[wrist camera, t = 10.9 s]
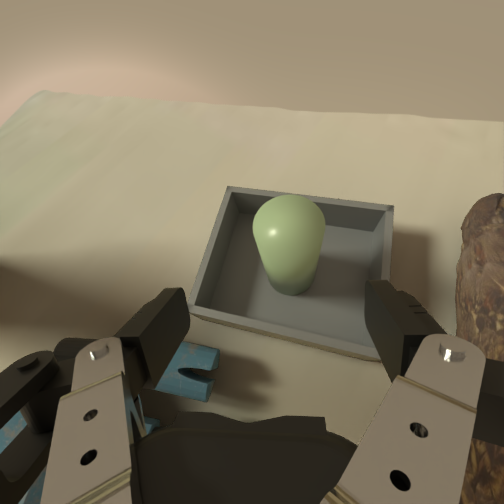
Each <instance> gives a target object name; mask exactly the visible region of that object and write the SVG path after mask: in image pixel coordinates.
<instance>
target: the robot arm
mask: <svg viewBox="0 0 504 504" xmlns="http://www.w3.org/2000/svg"><path fill="white" fill-rule="evenodd" d="M364 318H365V324H366V328H367V330H368V332H369V334H370V337H371V339H372V341H373V343H374V345H375V347H376V350H377V352H378V354H379V356H380V358H381V360H382V363H383V365H384V367H385V369H386V371H387V373H388V376H389V378H390V380H391V382H392V385H391V387H390V389H389V390H388V392H387V394H386V396H385V398H384V400H383V401H382V403H381V405H380V407H379V409H378V411H377V412H376V414H375V416H374V418H373V420H372V422H371V423H370V425H369V427H368V429H367V431H366V433H365V434H364V436H363V438H362V440H361V442H360V444H359V446H357V445H356V444H354V443H353V442H351V441H349V440H347V439H346V438H344V437H341V436H339V435H337V434H335V433H332V432H328V431H326V424H325V417H310V416H282V417H277V418H272V419H267V420H262V421H258V422H253V423H243V422H240V421H236V420H233V419H230V418H227V417H224V416H221V415H218V414H215V413H209V412H183V411H178V414H177V416H176V418H175V421H174V423H173V425H169V426H166V427H163V428H160V429H158V430H156V431H153V432H151V433H149V434H148V435H147V432H146V427H145V421H144V416H143V410H142V405H141V400H140V397H139V392H140V391H141V389H155V388H156V386H157V384H158V383H159V381H160V379H161V377H162V376H163V374H164V372H165V370H166V369H167V367H168V365H169V363H170V362H171V360H172V358H173V356H174V355H175V353H176V351H177V349H178V348H179V346H180V344H181V342H182V341H183V339H184V337H185V335H186V334H187V332H188V330H189V327H190V315H189V310H188V306H187V301H186V297H185V293H184V290H183V289H182V288H165V289H164V290H163V291H162V292H161V293H160V294H159V295H158V296H157V297H156V298H155V299H153V300H152V301H150V302H148V303H147V304H145V305H144V306H143V307H142V308H141V309H140V310H139V311H138V312H137V314H135V315H134V316H133V317H132V319H130V320H129V321H128V322H127V323H126V324H125V325H124V327H123V328H122V329H121V330H120V331H119V332H118V333H117V334H116V335H115V336H114V337H107V338H102V339H99V340H97V341H94V342H92V343H90V344H89V345H87V346H86V347H84V348H83V349H82V350H81V351H80V352H79V353H78V354H77V356H76V358H73V359H68V360H64V361H59V362H57V360H56V358H55V356H54V354H53V352H51V351H39V352H35V353H32V354H30V355H27V356H25V357H23V358H21V359H19V360H17V361H16V362H14V363H13V364H11V365H10V366H9V367H7V368H6V369H5V370H4V371H2V372H1V373H0V429H1V428H2V427H3V426H4V425H5V424H6V423H7V422H8V421H9V420H10V419H11V418H12V417H13V416H14V415H15V414H16V413H17V412H18V411H20V412H21V414H22V416H23V418H24V420H25V421H26V423H27V425H26V426H25V427H24V429H23V430H22V431H21V432H20V433H19V434H18V435H17V436H16V437H15V438H14V439H13V441H12V442H11V443H10V444H9V445H8V446H7V447H6V448H5V449H4V450H3V451H2V453H1V454H0V504H18V503H19V502H20V501H21V499H22V498H23V497H24V495H25V494H26V492H27V491H28V490H29V488H30V487H31V486H32V484H33V483H34V482H35V480H36V479H37V477H38V476H39V475H40V473H41V472H42V471H43V469H44V468H45V467H46V465H47V469H46V475H45V480H44V486H43V491H42V497H41V502H40V504H459V500H460V495H461V490H462V485H463V480H464V475H465V469H466V464H467V459H468V454H469V449H470V444H471V438H475V439H478V440H482V441H485V442H488V443H491V444H494V445H498V446H501V447H504V362H503V361H498V360H493V359H488V358H485V355H484V354H483V352H482V351H481V350H480V349H479V348H478V347H477V346H475V345H474V344H472V343H470V342H468V341H466V340H464V339H462V338H459V337H456V336H452V335H448V334H447V333H446V332H445V331H444V330H443V329H442V328H441V327H440V325H439V324H438V323H437V322H436V321H435V320H434V319H433V318H432V317H431V315H430V314H428V313H427V311H426V310H425V309H424V308H423V307H421V304H420V303H419V302H418V301H417V300H416V299H415V298H414V297H413V296H411V295H409V294H407V293H405V292H404V291H396V290H395V289H394V287H393V286H392V285H391V284H390V282H389V281H388V280H367V281H366V284H365V306H364Z"/></svg>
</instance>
